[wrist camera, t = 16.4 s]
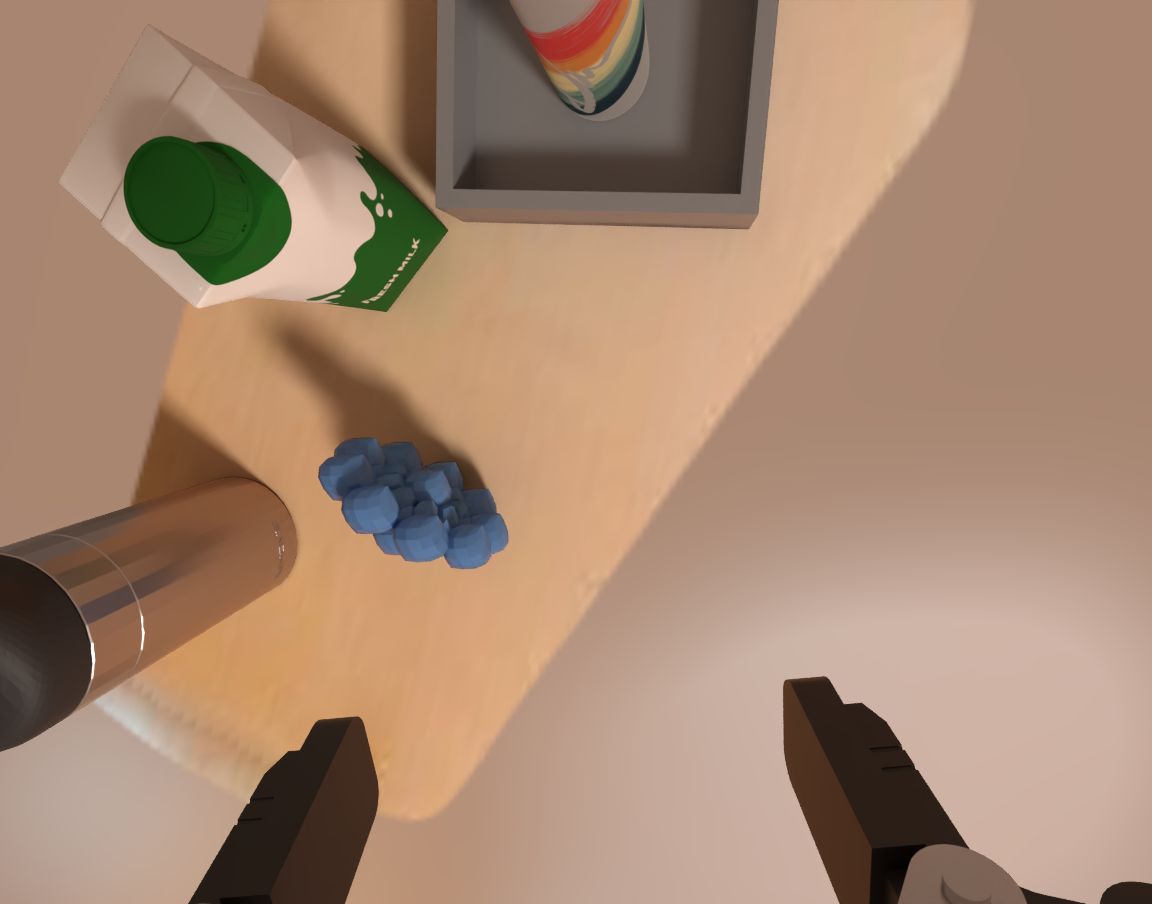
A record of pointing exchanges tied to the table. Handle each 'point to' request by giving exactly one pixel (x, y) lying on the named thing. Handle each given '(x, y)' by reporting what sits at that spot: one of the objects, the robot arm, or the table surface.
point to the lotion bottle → (590, 51)
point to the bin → (606, 122)
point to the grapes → (413, 504)
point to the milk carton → (243, 189)
